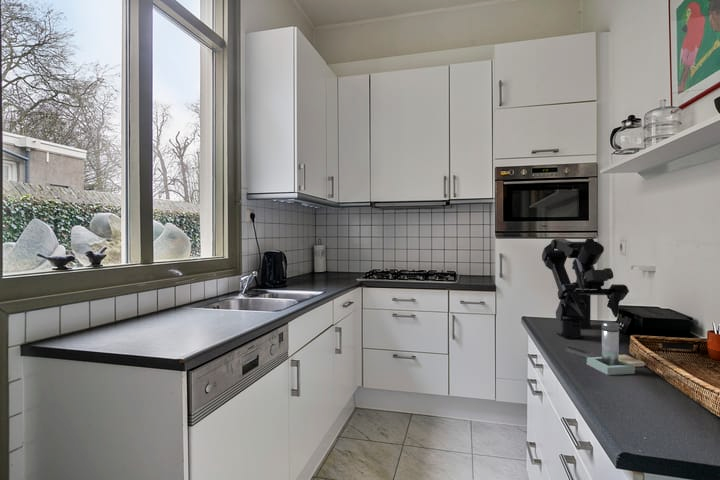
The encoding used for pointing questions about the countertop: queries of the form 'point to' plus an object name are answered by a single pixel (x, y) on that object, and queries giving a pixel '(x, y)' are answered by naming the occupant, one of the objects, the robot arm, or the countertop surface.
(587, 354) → the bar
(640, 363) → the beige square plate
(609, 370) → the socket
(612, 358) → the grey round peg
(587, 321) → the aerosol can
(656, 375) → the countertop surface
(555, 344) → the countertop surface
